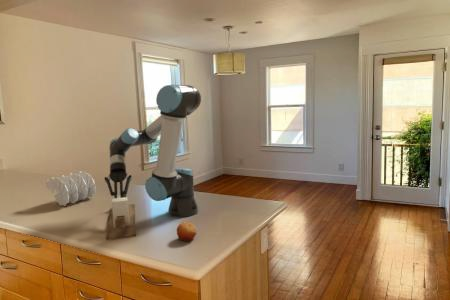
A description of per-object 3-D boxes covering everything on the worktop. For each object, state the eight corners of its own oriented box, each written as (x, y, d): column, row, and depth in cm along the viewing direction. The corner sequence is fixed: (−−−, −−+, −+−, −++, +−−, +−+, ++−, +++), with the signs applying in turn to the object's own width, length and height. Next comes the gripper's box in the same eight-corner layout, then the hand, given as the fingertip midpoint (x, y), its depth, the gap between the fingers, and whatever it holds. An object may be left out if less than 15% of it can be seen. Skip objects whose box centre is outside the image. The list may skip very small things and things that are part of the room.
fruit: (177, 231, 144) (185, 216, 142) (192, 241, 143) (201, 226, 141) (169, 238, 137) (177, 222, 135) (185, 249, 135) (194, 234, 133)
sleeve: (129, 221, 158) (127, 197, 156) (129, 225, 152) (127, 200, 150) (114, 223, 156) (112, 198, 154) (113, 227, 150) (111, 202, 149)
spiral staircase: (96, 203, 210) (60, 213, 188) (78, 189, 217) (41, 197, 195) (104, 178, 205) (68, 185, 183) (85, 164, 212) (48, 170, 190)
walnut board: (134, 206, 188) (133, 192, 187) (136, 236, 144) (134, 217, 143) (112, 208, 185) (110, 194, 184) (106, 240, 141) (104, 221, 140)
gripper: (131, 169, 175) (134, 209, 161) (105, 171, 172) (105, 212, 158) (130, 160, 169) (133, 201, 156) (103, 162, 166) (103, 205, 152)
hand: (119, 207), depth 157 cm, fingers closed
